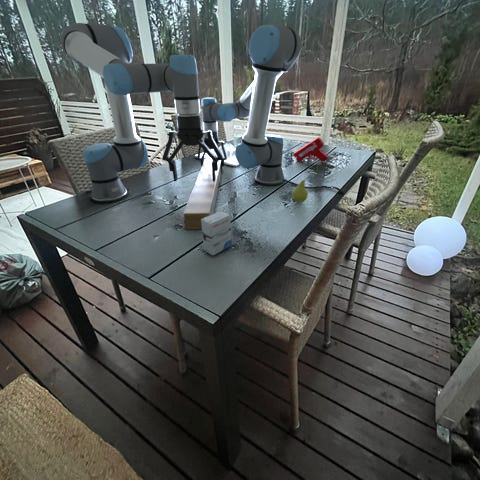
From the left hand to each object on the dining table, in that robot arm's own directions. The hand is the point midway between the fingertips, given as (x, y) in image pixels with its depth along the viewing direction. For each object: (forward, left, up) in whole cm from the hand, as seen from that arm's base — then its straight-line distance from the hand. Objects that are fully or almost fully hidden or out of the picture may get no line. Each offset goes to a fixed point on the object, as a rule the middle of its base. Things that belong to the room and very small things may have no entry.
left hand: (195, 180), depth 96 cm
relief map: (-40, +83, -18) cm, 94 cm away
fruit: (+27, +38, -18) cm, 50 cm away
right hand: (-30, +52, -17) cm, 62 cm away
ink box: (+16, -10, -18) cm, 26 cm away
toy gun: (+12, +99, -18) cm, 101 cm away
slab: (-15, +26, -18) cm, 35 cm away
